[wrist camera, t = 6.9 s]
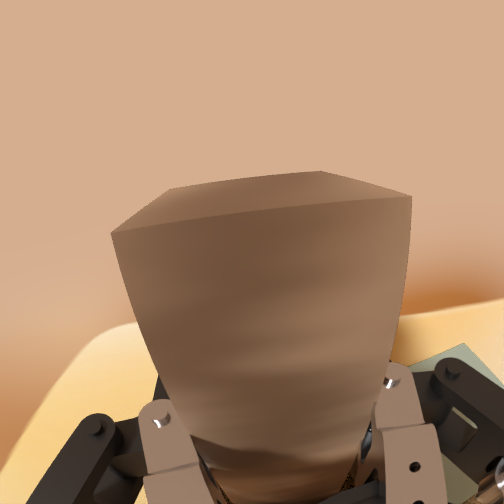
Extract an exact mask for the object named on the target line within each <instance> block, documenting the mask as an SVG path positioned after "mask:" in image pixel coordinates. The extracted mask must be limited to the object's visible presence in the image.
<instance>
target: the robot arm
mask: <svg viewBox="0 0 504 504" xmlns="http://www.w3.org/2000/svg"><path fill="white" fill-rule="evenodd" d="M454 407H455V408H456V409H457V410H458V411H460V412H461V413H462V414H463V415H465V416H466V417H467V418H468V419H470V420H471V421H472V422H473V423H475V425H476V426H477V428H474V427H473V426H471V425H470V424H469V423H468V422H466V421H465V420H464V419H463V418H461V417H460V416H459V415H458V414H456V413H455V412H454V411H453V410H452V409H453V408H454ZM441 453H442V454H443V455H445V456H446V457H447V458H448V459H449V460H450V461H451V462H452V463H453V464H455V465H456V466H457V467H458V468H459V469H460V470H461V471H462V472H464V473H465V474H466V475H467V476H468V477H469V478H470V479H472V480H473V481H474V482H475V483H476V484H477V485H478V486H479V487H478V492H477V494H476V500H477V501H478V502H483V504H504V389H503V388H501V387H500V386H498V385H497V384H496V383H494V382H493V381H491V380H490V379H488V378H487V377H485V376H484V375H483V374H481V373H480V372H478V371H477V370H475V369H474V368H472V367H471V366H470V365H468V364H467V363H465V362H464V361H462V360H460V359H458V358H453V357H447V358H443V359H441V360H440V361H438V362H437V364H436V366H435V368H434V370H433V371H424V372H411V371H410V370H409V369H408V368H407V367H406V366H404V365H402V364H400V363H395V362H391V360H389V364H388V368H387V371H386V375H385V378H384V382H383V385H382V388H381V391H380V395H379V398H378V401H377V402H374V404H373V407H372V410H371V421H370V424H369V426H368V429H367V431H366V434H365V437H364V439H362V440H360V443H359V445H358V469H357V475H356V479H355V486H354V488H352V489H349V490H345V491H342V492H340V493H338V494H336V495H334V496H332V497H330V498H328V499H326V500H324V501H322V502H320V503H318V504H453V503H450V502H447V492H446V484H445V476H444V470H443V464H442V458H441ZM143 484H144V488H145V493H146V497H147V500H148V504H227V502H226V500H225V499H224V497H223V495H222V493H221V491H220V489H219V487H218V484H217V482H216V480H215V478H214V475H213V473H212V471H211V470H210V468H209V467H207V465H206V464H205V462H204V460H203V459H202V457H201V456H200V454H199V452H198V450H197V448H196V445H195V443H194V441H193V439H192V437H191V435H188V433H187V431H186V429H185V427H184V426H183V424H182V422H181V420H180V418H179V416H178V414H177V412H176V410H175V408H174V406H173V404H172V402H171V400H170V398H169V396H168V394H167V392H166V390H165V388H164V385H163V383H162V381H161V379H160V377H159V374H158V379H157V383H156V387H155V392H154V397H153V401H152V402H150V403H148V404H147V405H145V406H144V407H143V408H142V410H141V411H140V413H139V416H138V417H136V418H132V419H128V420H124V421H119V422H114V421H113V420H112V419H111V418H110V417H109V416H108V415H105V414H101V413H96V414H92V415H89V416H87V417H86V418H84V419H83V420H82V421H81V422H80V424H79V425H78V427H77V428H76V429H75V431H74V432H73V434H72V435H71V436H70V438H69V439H68V441H67V442H66V444H65V445H64V446H63V448H62V449H61V451H60V452H59V454H58V455H57V457H56V458H55V460H54V461H53V463H52V464H51V465H50V467H49V468H48V470H47V471H46V473H45V474H44V476H43V477H42V479H41V481H40V482H39V484H38V485H37V487H36V488H35V490H34V491H33V493H32V494H31V496H30V498H29V499H28V501H27V502H26V504H134V503H135V501H136V499H137V496H138V494H139V492H140V490H141V488H142V486H143Z"/></svg>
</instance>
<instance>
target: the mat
mask: <svg viewBox="0 0 504 504" xmlns="http://www.w3.org/2000/svg"><path fill="white" fill-rule="evenodd" d="M447 357H453V358H458V359H460V360H462V361H464V362H465V363H467V364H468V365H470V366H471V367H472V368H474V369H475V370H477V371H478V372H480V373H481V374H483V375H484V376H485V377H487V378H488V379H490V380H491V381H493V382H494V383H496V384H497V385H498V386H500V387H501V388H503V389H504V385H503V384H502V383H501V382H500V381H499V379H498V378H497V377H496V376H495V375H494V374H493V373H492V372H491V371H490V370H489V368H488V367H487V366H486V365H485V364H484V363H483V362H482V361H481V360H480V359H479V358H478V357H477V356H476V355H475V354H474V353H473V352H472V351H471V350H470V348H469V347H468V346H467V345H466V344H465V343H462V344H460V345H458V346H456V347H454V348H452V349H449V350H447V351H445V352H443V353H440V354H438V355H436V356H433V357H431V358H429V359H426V360H424V361H421V362H419V363H416V364H413V365H411V366H408V367H407V368H408V369H409V370H410V371H411V372H424V371H433V370H434V368H435V366H436V364H437V362H438V361H440V360H441V359H443V358H447ZM452 410H453V411H454V412H455V413H456V414H458V415H459V416H460V417H461V418H463V419H464V420H465V421H466V422H468V423H469V424H470V425H471V426H473V427H474V428H477V426H476V425H475V423H473V422H472V421H471V420H470V419H468V418H467V417H466V416H465V415H463V414H462V413H461V412H460V411H458V410H457V409H456V408H455V407H454V408H453V409H452ZM441 458H442V464H443V470H444V476H445V484H446V492H447V502H450V503H453V504H462V503H464V502H465V501H467V500H468V499H469V498H471V497H472V496H474V495H475V494H476V493H477V492H478V487H479V486H478V485H477V484H476V483H475V482H474V481H473V480H472V479H470V478H469V477H468V476H467V475H466V474H465V473H464V472H462V471H461V470H460V469H459V468H458V467H457V466H456V465H455V464H453V463H452V462H451V461H450V460H449V459H448V458H447V457H446V456H445V455H443V454H442V453H441Z"/></svg>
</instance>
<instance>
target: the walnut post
mask: <svg viewBox="0 0 504 504" xmlns="http://www.w3.org/2000/svg"><path fill="white" fill-rule="evenodd" d="M411 210H412V196H410V195H407V194H403V193H400V192H397V191H394V190H391V189H387V188H384V187H380V186H377V185H374V184H370V183H366V182H363V181H359V180H355V179H351V178H348V177H343V176H339V175H335V174H331V173H327V172H323V171H315V172H301V173H290V174H279V175H268V176H259V177H250V178H242V179H234V180H226V181H219V182H211V183H205V184H199V185H192V186H186V187H179V188H173V189H169V190H168V191H166V192H165V193H163V194H162V195H161V196H159V197H158V198H157V199H155V200H154V201H152V202H151V203H149V204H148V205H147V206H145V207H144V208H143V209H141V210H140V211H138V212H137V213H136V214H135V215H133V216H132V217H130V218H129V219H128V220H127V221H125V222H124V223H123V224H121V225H120V226H119V227H117V228H116V229H115V230H114V231H112V232H111V236H112V240H113V244H114V248H115V252H116V256H117V259H118V263H119V266H120V270H121V273H122V276H123V280H124V283H125V287H126V289H127V293H128V296H129V299H130V302H131V305H132V308H133V311H134V314H135V317H136V319H137V322H138V325H139V328H140V330H141V333H142V336H143V338H144V341H145V343H146V346H147V348H148V351H149V353H150V356H151V358H152V360H153V363H154V365H155V367H156V370H157V372H158V374H159V377H160V379H161V381H162V383H163V385H164V388H165V390H166V392H167V394H168V396H169V398H170V400H171V402H172V404H173V406H174V408H175V410H176V412H177V414H178V416H179V418H180V420H181V422H182V424H183V426H184V427H185V429H186V431H187V433H188V435H191V437H192V439H193V441H194V443H195V445H196V448H197V450H198V452H199V454H200V456H201V457H202V459H203V460H204V462H205V464H206V465H207V467H209V468H210V470H211V471H212V473H213V475H214V478H215V479H216V481H217V482H218V484H219V485H220V487H221V488H222V490H223V491H224V493H225V494H226V495H227V497H228V498H229V500H230V501H231V502H232V504H318V503H320V502H322V501H324V500H326V499H328V498H330V497H332V496H334V495H336V494H338V493H339V491H340V489H341V487H342V485H343V483H344V481H345V479H346V477H347V475H348V473H349V471H350V469H351V467H352V465H353V462H354V460H355V458H356V456H357V453H358V445H359V443H360V440H362V439H364V437H365V434H366V431H367V429H368V426H369V424H370V421H371V410H372V407H373V404H374V402H377V401H378V398H379V395H380V391H381V388H382V385H383V382H384V378H385V375H386V371H387V368H388V364H389V360H390V356H391V352H392V348H393V344H394V339H395V335H396V330H397V326H398V321H399V316H400V310H401V305H402V299H403V293H404V286H405V279H406V271H407V263H408V254H409V243H410V230H411V212H412V211H411Z"/></svg>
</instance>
